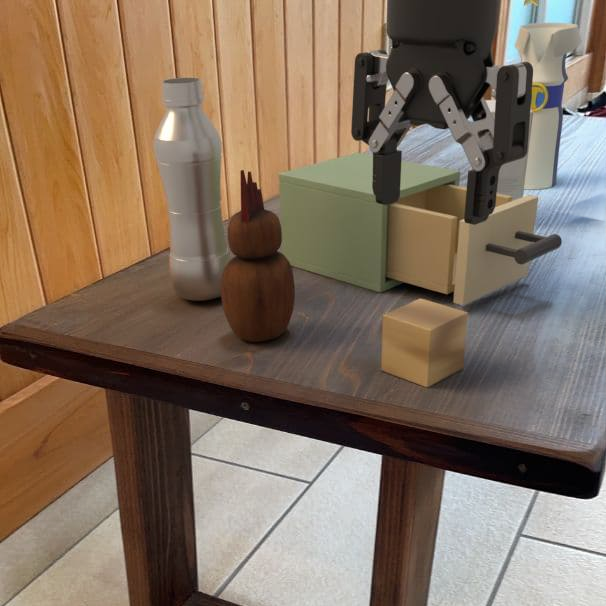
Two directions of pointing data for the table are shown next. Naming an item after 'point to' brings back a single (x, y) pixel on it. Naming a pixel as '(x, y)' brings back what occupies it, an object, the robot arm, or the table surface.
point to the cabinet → (345, 217)
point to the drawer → (462, 243)
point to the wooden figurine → (256, 271)
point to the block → (423, 342)
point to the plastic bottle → (191, 190)
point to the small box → (511, 167)
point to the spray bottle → (546, 94)
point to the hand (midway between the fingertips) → (430, 211)
